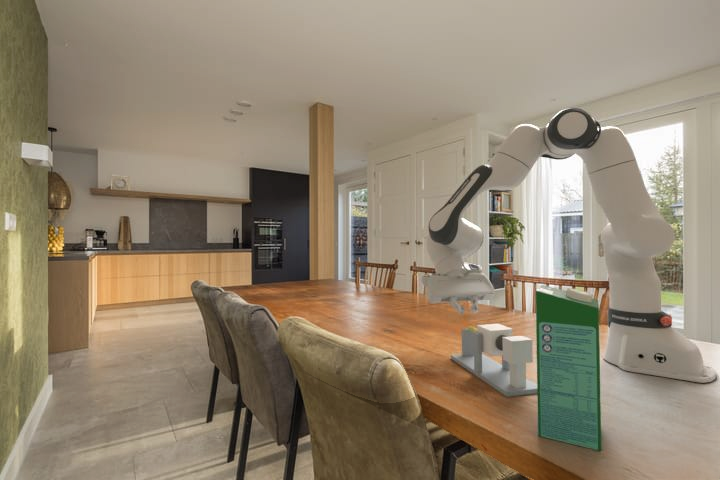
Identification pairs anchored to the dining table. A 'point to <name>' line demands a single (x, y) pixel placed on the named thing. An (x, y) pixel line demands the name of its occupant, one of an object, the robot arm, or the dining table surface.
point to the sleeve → (492, 337)
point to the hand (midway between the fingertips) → (468, 312)
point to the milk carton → (568, 366)
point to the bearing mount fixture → (499, 376)
